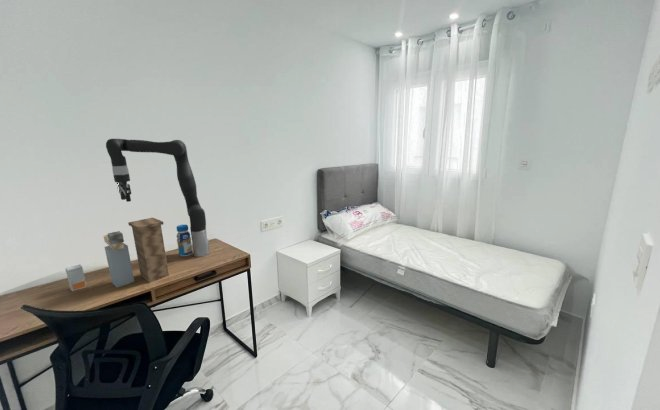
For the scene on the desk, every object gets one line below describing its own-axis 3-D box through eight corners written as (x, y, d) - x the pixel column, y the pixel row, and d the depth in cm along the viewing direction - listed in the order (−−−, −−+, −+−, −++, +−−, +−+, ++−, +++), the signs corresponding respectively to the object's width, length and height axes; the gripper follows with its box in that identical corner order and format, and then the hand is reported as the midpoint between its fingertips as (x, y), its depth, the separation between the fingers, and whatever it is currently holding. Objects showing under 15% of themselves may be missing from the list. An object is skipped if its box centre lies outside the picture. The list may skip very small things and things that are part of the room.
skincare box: (72, 291, 145) (66, 270, 142) (70, 289, 147) (64, 268, 145) (87, 287, 150) (82, 266, 147) (84, 284, 152) (80, 264, 149)
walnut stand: (160, 268, 170) (152, 217, 162) (171, 275, 161) (163, 221, 154) (138, 276, 160) (128, 222, 153) (148, 284, 152) (138, 227, 144)
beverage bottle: (180, 252, 193) (176, 224, 189) (193, 251, 196) (190, 223, 191) (177, 257, 185) (173, 228, 181) (192, 255, 188) (188, 227, 183)
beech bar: (114, 239, 159) (111, 225, 157) (125, 248, 146) (122, 233, 144) (103, 242, 155) (100, 228, 153) (113, 251, 143) (110, 236, 141)
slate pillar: (129, 277, 159) (122, 242, 155) (134, 281, 155) (127, 245, 150) (112, 283, 153) (104, 246, 148) (117, 287, 149) (109, 250, 144)
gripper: (109, 173, 167) (114, 200, 171) (117, 175, 159) (122, 203, 163) (124, 172, 173) (129, 198, 177) (132, 173, 165) (137, 200, 168)
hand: (126, 200), depth 170 cm, fingers open, 8 cm apart
